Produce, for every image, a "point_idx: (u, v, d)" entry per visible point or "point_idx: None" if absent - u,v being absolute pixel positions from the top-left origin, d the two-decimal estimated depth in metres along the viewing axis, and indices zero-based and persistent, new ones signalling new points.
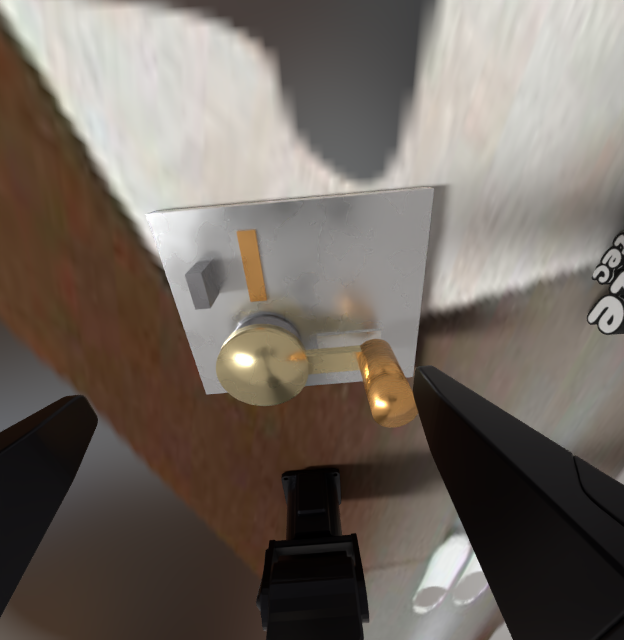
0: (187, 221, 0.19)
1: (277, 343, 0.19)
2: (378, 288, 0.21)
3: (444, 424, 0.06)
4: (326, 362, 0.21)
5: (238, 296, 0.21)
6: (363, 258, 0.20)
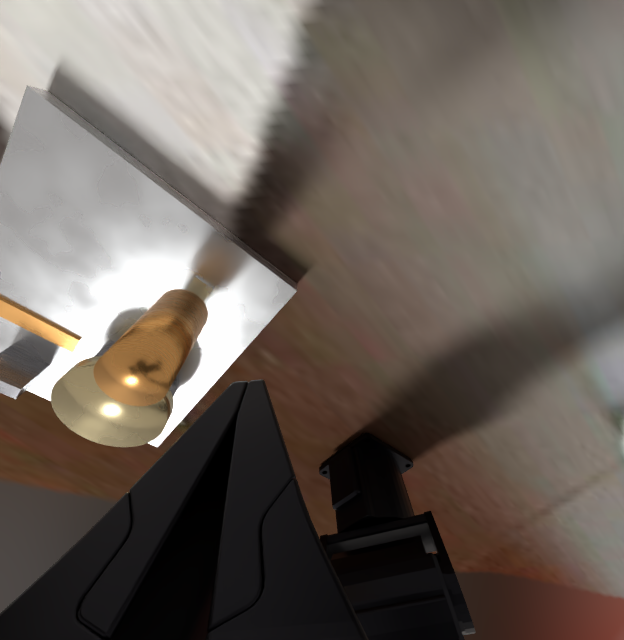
0: None
1: (79, 379, 0.16)
2: (136, 240, 0.16)
3: None
4: None
5: (63, 355, 0.19)
6: (84, 227, 0.16)
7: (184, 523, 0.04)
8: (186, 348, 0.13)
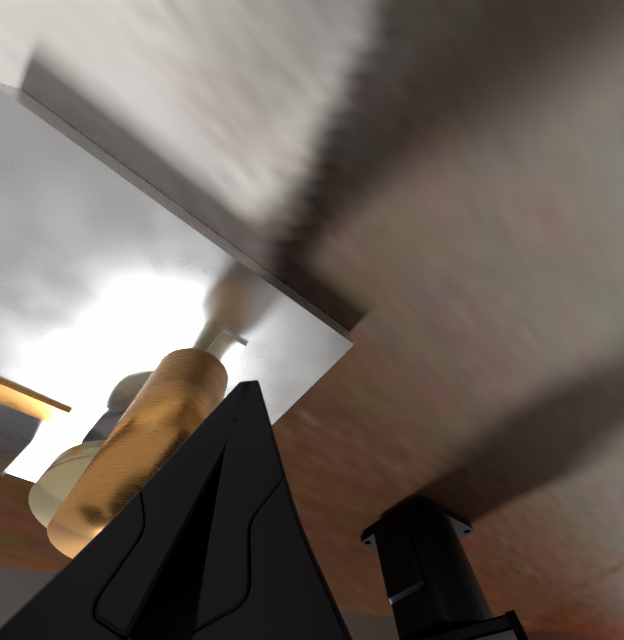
0: None
1: (63, 479, 0.12)
2: (144, 287, 0.12)
3: None
4: None
5: (48, 430, 0.15)
6: (73, 273, 0.11)
7: (196, 522, 0.04)
8: None
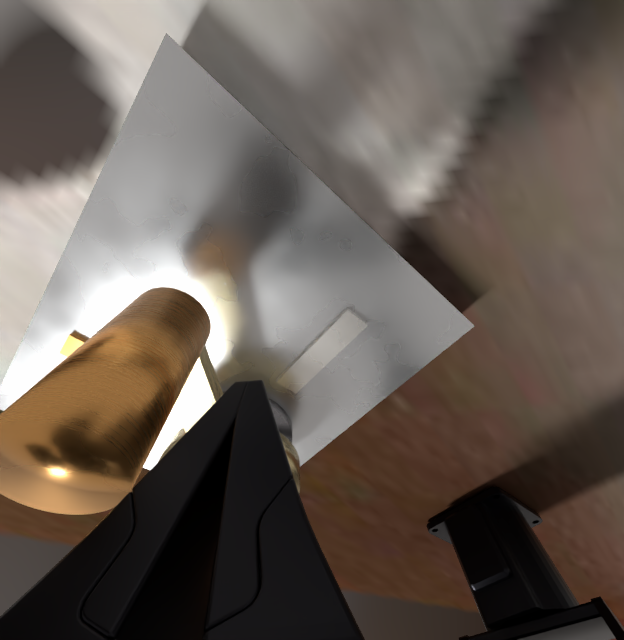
0: (20, 382, 0.14)
1: None
2: (278, 261, 0.12)
3: None
4: (194, 412, 0.11)
5: None
6: (210, 245, 0.11)
7: (187, 523, 0.04)
8: (145, 359, 0.07)
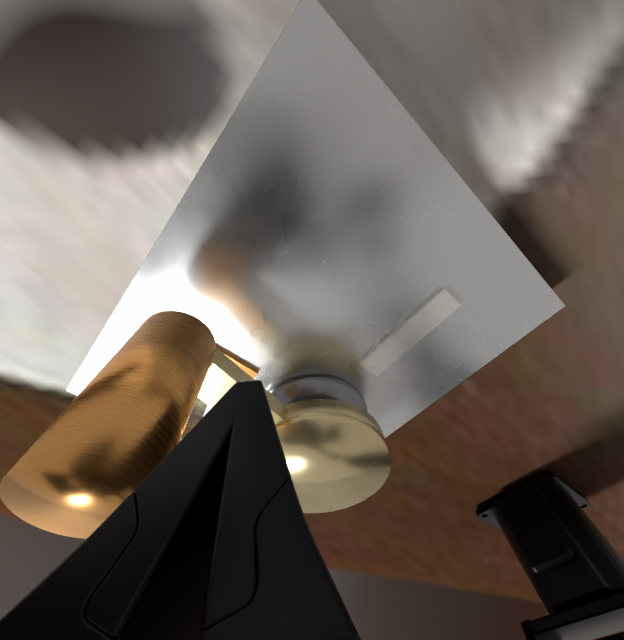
0: (99, 365, 0.13)
1: None
2: (381, 238, 0.11)
3: None
4: None
5: None
6: (315, 220, 0.11)
7: (190, 522, 0.04)
8: (127, 380, 0.07)
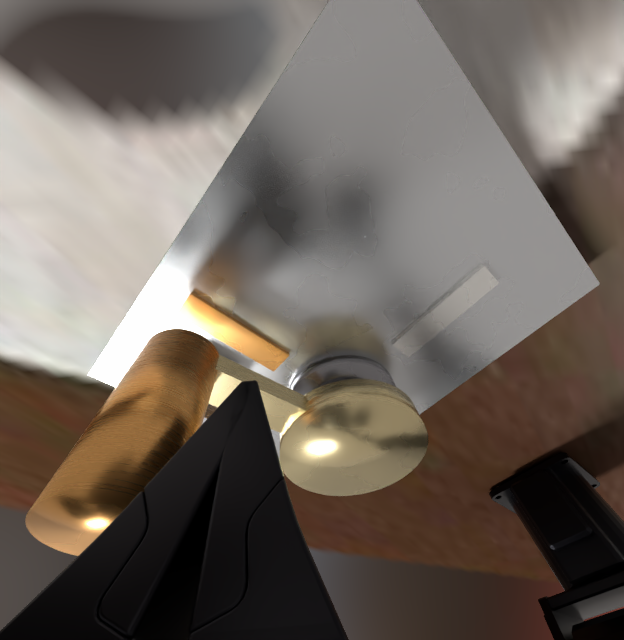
0: (124, 348, 0.13)
1: (298, 472, 0.13)
2: (425, 212, 0.11)
3: None
4: None
5: None
6: (360, 192, 0.10)
7: (199, 522, 0.04)
8: (125, 405, 0.07)
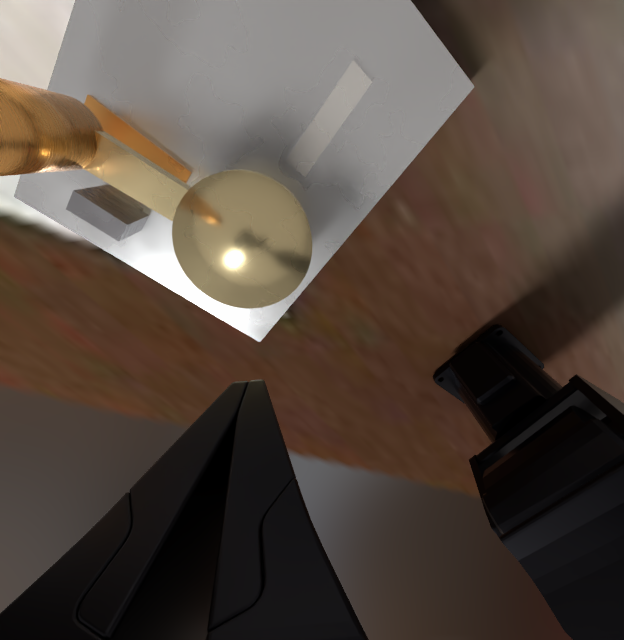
0: None
1: (196, 271, 0.14)
2: None
3: None
4: (149, 190, 0.13)
5: None
6: None
7: (184, 523, 0.04)
8: None
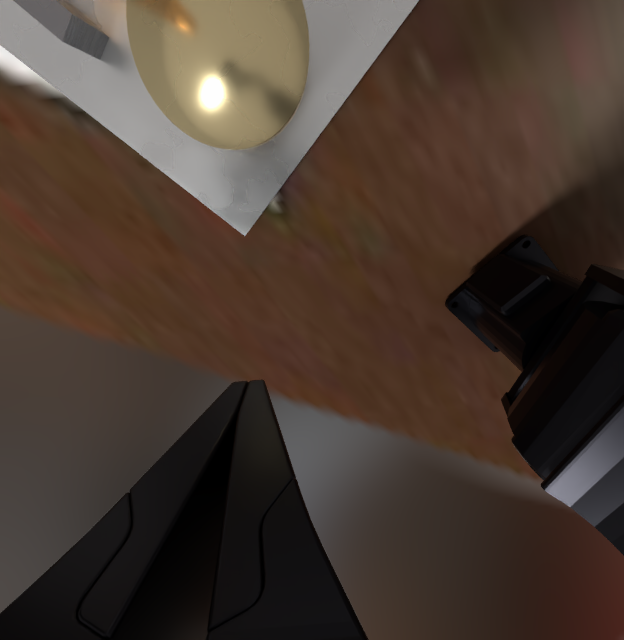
0: None
1: (160, 83, 0.11)
2: None
3: None
4: None
5: None
6: None
7: (184, 523, 0.04)
8: None
